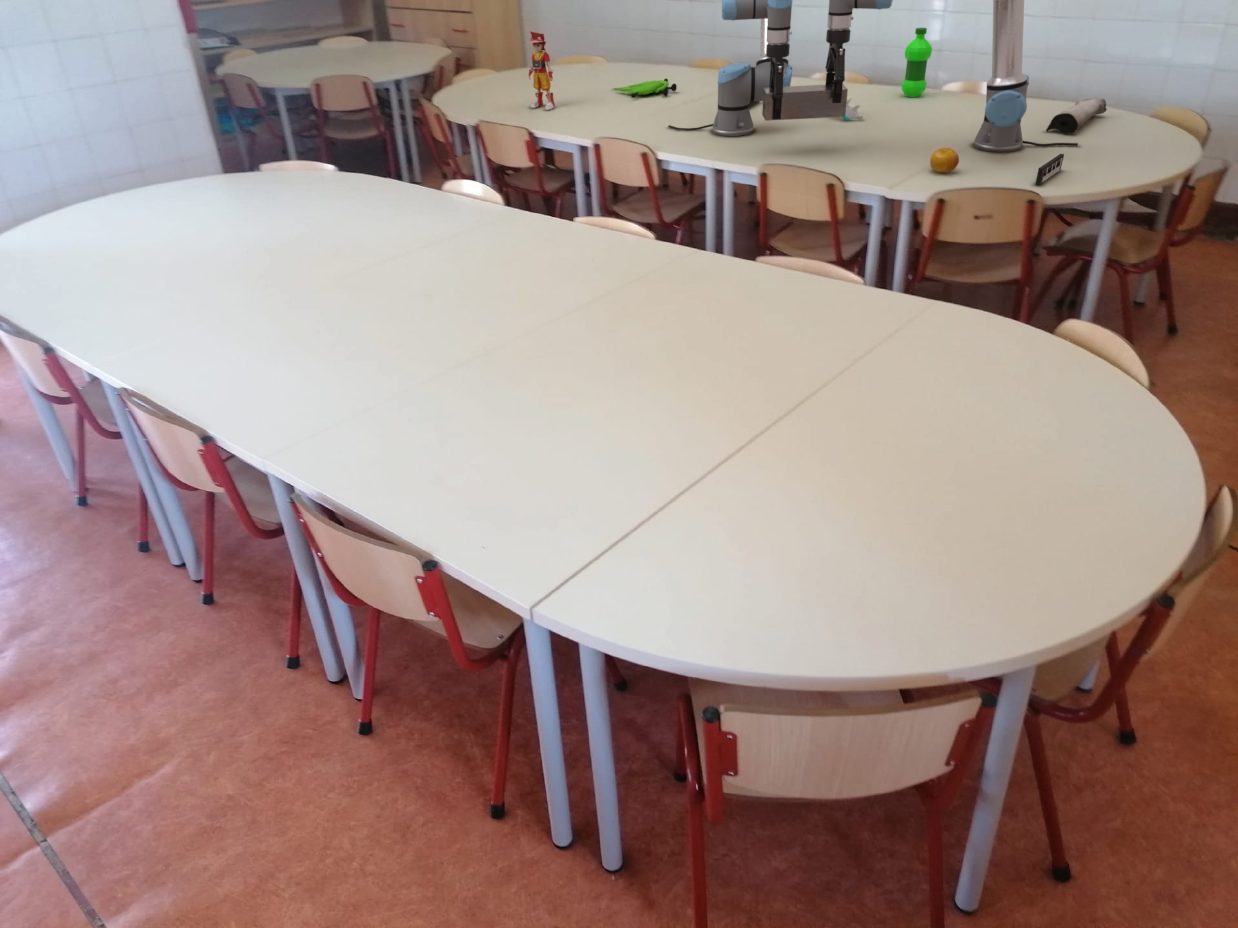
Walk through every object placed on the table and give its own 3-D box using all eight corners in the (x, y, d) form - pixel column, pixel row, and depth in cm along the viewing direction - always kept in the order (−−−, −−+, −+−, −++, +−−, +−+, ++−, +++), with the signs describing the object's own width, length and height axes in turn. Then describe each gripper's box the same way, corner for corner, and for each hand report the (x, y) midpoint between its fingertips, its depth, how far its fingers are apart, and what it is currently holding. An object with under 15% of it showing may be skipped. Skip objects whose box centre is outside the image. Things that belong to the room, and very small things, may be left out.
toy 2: (686, 85, 398) (631, 84, 414) (685, 72, 395) (629, 72, 411) (651, 104, 381) (596, 103, 397) (650, 92, 378) (594, 91, 394)
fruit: (924, 163, 281) (941, 140, 278) (925, 165, 289) (941, 143, 286) (946, 178, 280) (963, 155, 277) (947, 180, 288) (963, 158, 285)
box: (765, 121, 302) (766, 93, 297) (762, 114, 309) (763, 87, 304) (845, 116, 301) (847, 89, 296) (840, 110, 308) (842, 83, 303)
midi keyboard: (1039, 185, 269) (1043, 168, 266) (1035, 184, 270) (1038, 168, 267) (1060, 170, 279) (1064, 154, 277) (1056, 169, 280) (1060, 153, 277)
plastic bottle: (931, 95, 365) (940, 28, 351) (913, 100, 361) (922, 32, 346) (911, 91, 372) (920, 25, 358) (894, 96, 368) (902, 29, 353)
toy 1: (525, 109, 381) (517, 32, 364) (534, 104, 388) (527, 28, 371) (550, 110, 377) (543, 32, 360) (559, 105, 384) (553, 28, 367)
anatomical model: (825, 90, 346) (851, 83, 346) (828, 117, 352) (853, 110, 352) (836, 99, 334) (863, 92, 333) (839, 127, 340) (865, 120, 339)
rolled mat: (1073, 103, 332) (1098, 85, 324) (1087, 124, 332) (1112, 107, 324) (1041, 125, 315) (1067, 107, 306) (1056, 147, 315) (1082, 129, 307)
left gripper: (794, 48, 283) (790, 123, 296) (785, 37, 300) (781, 107, 313) (770, 50, 283) (767, 124, 296) (762, 38, 301) (760, 108, 314)
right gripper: (858, 35, 279) (851, 106, 291) (842, 22, 299) (836, 89, 311) (834, 36, 279) (828, 107, 291) (820, 23, 300) (815, 90, 312)
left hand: (774, 115), depth 305 cm, fingers closed on box, 8 cm apart
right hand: (832, 98), depth 301 cm, fingers open, 13 cm apart
